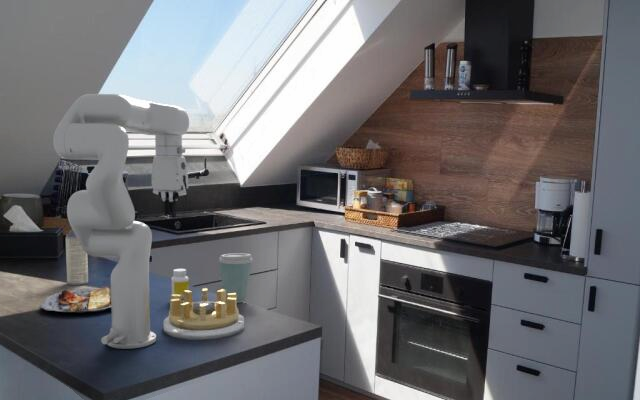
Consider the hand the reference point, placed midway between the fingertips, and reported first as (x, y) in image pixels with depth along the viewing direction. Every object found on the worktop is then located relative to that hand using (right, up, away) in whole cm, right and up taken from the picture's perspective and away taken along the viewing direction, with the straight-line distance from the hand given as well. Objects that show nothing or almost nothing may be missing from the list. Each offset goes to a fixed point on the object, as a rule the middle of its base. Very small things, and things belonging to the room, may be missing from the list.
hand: (169, 214), depth 210 cm
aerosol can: (-39, -25, +36) cm, 58 cm away
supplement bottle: (0, -28, +15) cm, 32 cm away
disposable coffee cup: (+17, -28, +16) cm, 36 cm away
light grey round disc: (+12, -31, -12) cm, 35 cm away
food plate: (-28, -28, +9) cm, 41 cm away
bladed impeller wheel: (+12, -29, -12) cm, 33 cm away
